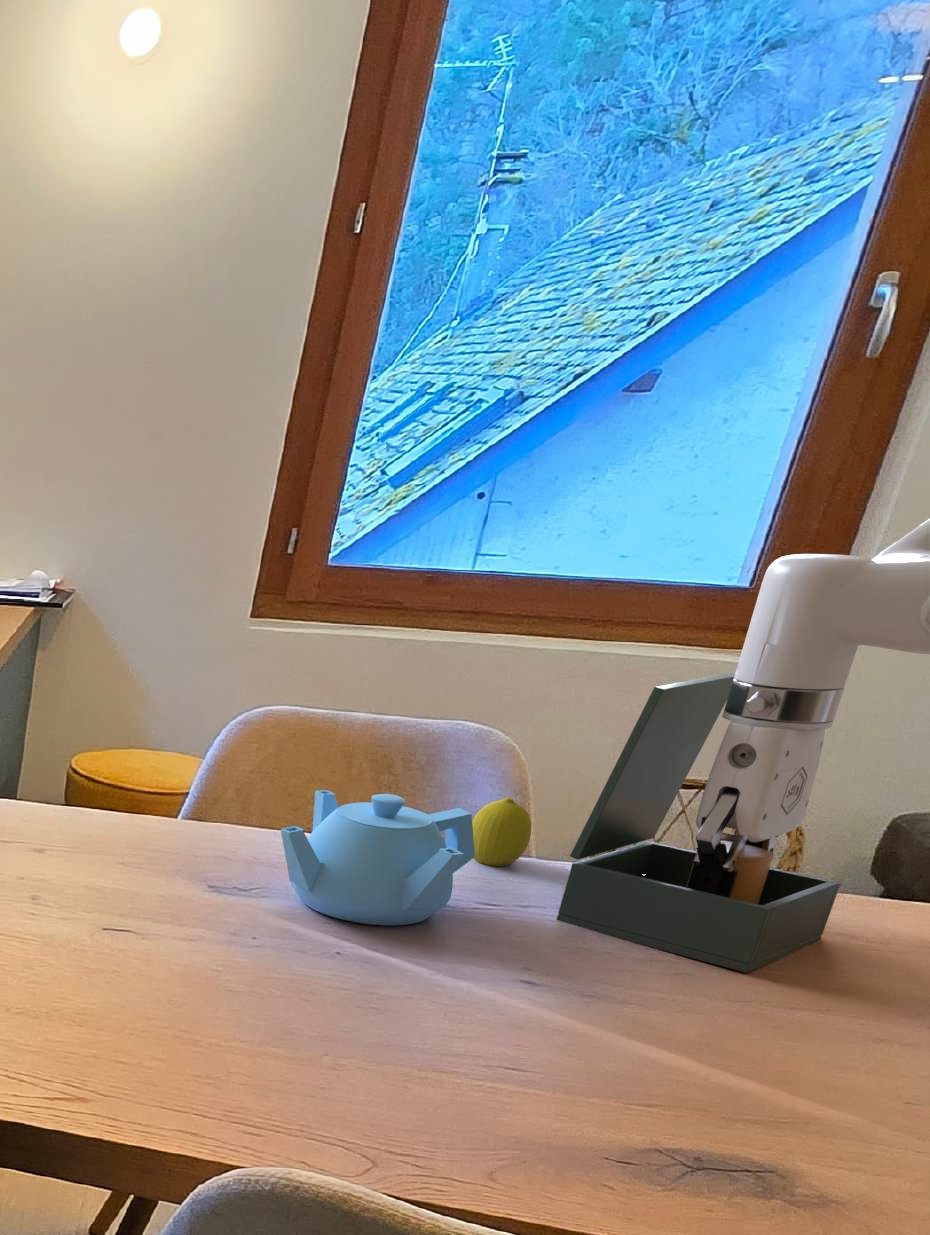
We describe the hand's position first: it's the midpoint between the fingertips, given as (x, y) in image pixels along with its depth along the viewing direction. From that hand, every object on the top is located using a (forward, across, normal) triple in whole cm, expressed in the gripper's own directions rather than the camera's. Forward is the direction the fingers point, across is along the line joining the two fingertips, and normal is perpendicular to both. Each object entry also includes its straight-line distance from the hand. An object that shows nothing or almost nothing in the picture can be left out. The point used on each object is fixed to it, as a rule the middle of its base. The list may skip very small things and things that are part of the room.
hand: (719, 902), depth 129 cm
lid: (-11, 0, +8) cm, 13 cm away
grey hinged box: (+3, 0, +2) cm, 4 cm away
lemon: (+3, +4, +22) cm, 22 cm away
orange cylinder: (+2, 0, 0) cm, 2 cm away
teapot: (+3, -19, +22) cm, 29 cm away
